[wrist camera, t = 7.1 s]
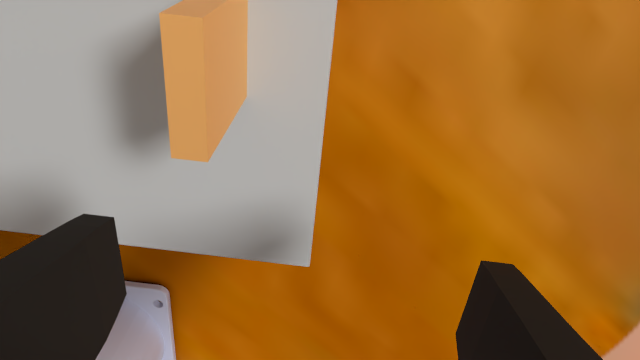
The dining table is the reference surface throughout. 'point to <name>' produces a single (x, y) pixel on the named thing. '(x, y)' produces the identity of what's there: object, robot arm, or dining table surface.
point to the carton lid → (167, 120)
